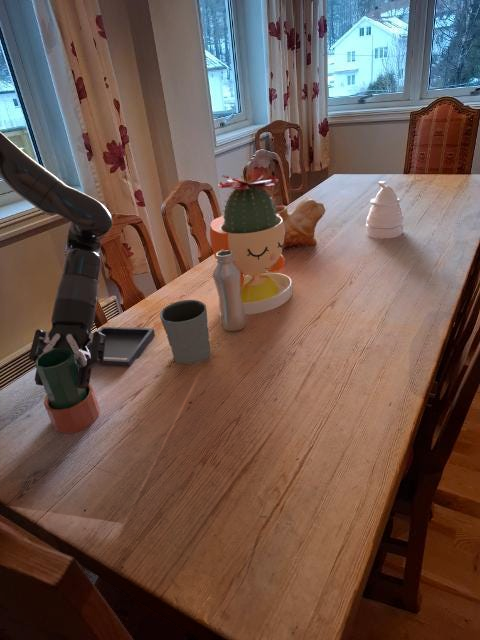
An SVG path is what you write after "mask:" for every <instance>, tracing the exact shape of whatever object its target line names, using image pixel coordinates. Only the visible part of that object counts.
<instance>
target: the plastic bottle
mask: <svg viewBox="0 0 480 640" xmlns="http://www.w3.org/2000/svg"><path fill="white" fill-rule="evenodd" d="M216 256H217V260H216V263H217V265H216V266H215V268H214V270H213V273H212V277H213V282H214V286H215V288H216V292H217V296H218V301H219V302H218V303H219V323H220V325H221V328H223V329H224V330H225V331H229V332H237V331H239V330H242V329H243V328H244V327H245V326H246V324H247V314H245V311H244V309H243V304H242V300H241V289H240V283H241V273H240V270H239V268H238V267H237V266H236V265H235V264H234V263H233V262H232V261H233V255H232V251H220V252H218V253H217V254H216Z"/></svg>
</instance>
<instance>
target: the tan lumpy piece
mask: <svg viewBox="0 0 480 640" xmlns="http://www.w3.org/2000/svg"><path fill="white" fill-rule="evenodd" d="M275 206H276V207H275V208H277V209H276V211H278V212H276V214H280V216H281V218H282V220H283V224H284V229H285V242H284V246H283V250H282V251H285V250H284V249H286V250H290V249H289V248H291V249H294V248H293V247H296V248H299V247H298V246H301V247H307V246H306V245H308V246H315V245H317V244H316V243H317V240H316V237H315V232H316V227H317V224H318V223H319V222H320V220H321V219H323V217H324V215H325V213H326V208H325V205H324V203H322V202H317V201H316V200H315V199H312V198H311V197H304V198H303V199H302V200H301V201H300V202H298V204H297V206H295V208H294V209H293V210H292V211H291V212H290V211H289V212H288V207H287V206H286V205H275Z"/></svg>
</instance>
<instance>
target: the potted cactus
mask: <svg viewBox="0 0 480 640" xmlns="http://www.w3.org/2000/svg"><path fill="white" fill-rule="evenodd" d="M264 171H265V167H264V166H262V165H261V166H260V167H258V168H256V167H255V168H253V169H251V170H250V171H248V172H246V174H245V175H244V174H242V175H240V177H233V178H232V177H230V176H228V175H221V177H222V178H225V179H227V180H226V182H225V183H224V182H223V181H219V183H218V184H217V186H218V187H219V188H221V189H225V188H226V189H227V188H228V189H229V188H230V189H232V190H229V194H226V196H227V197H226V196H225V197H226V198H227V200H224V202H225V204H223V205H222V207H223V208H224V209H223V208H222V210H221V212H223V215H220V216H219V217H216V218H214V219H212V221H211V222H210V225H209V241H210V245H211V249H212V252H213V255H214V258H215V260H216V261H217V256H216V254H217V253H218V252H220V251H232V255H233V261H232V262H233V263H234V264H235V265H236V266H237V267H238V268H239V270H240V273H241V283H240V289H241V300H242V304H243V309H244V311H245V314H246V315H255V314H261V313H266V312H268V311H272V310H274V309H277V308H278V307H280V306H283V305H284V304H285V303H287V302H288V301H289V300H290V299H291V297H292V295H293V283H292V282H293V281H292V279H291V277H290V276H288V275H287V274H285V273H280V272H279V271H282V270H283V268H284V267H285V265H286V260H285V257H284V256H283V255H282V253H283V251H284V250H283V246H284V242H285V229H284V224H283V220H282V218H281V216H280V214H276V212H278V211H276V209H277V208H275V207H276V206H277V205H276V204H275V202H274V201H275V197H274V198H273V196H272V195H273V194H274V193H271V195H270V190H268V188H269V187H271V188H272V187H274V186H275V185H276V184H277V183H279V179H278V178H277V177H276V176H275V175H272V174H271V175H269V176H267V177H266V178H264V174H263V173H264ZM263 178H264V179H263Z"/></svg>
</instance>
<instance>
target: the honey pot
mask: <svg viewBox="0 0 480 640" xmlns="http://www.w3.org/2000/svg"><path fill="white" fill-rule="evenodd" d="M386 183H387V181H386V180H385V181H384V180H380V181H377V185H378V187H379V188H380V190H379V191H378V193H377V194H376V195H375V197H374V198H371V200H370V204H371V207H370V208H369V212H368V216H367V217H366V220H365V221H366V224H365V234H366V235H367V236H368V237H371V238H374V239H393V238H397V237H400V236H402V235H403V232H404V220H405V218H404V216H403V211H402V207H401V205H400V203H401V198H399V197H398V196H397V194H396V192H395V190H394V189H393V188H392V186H390V185H386Z"/></svg>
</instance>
